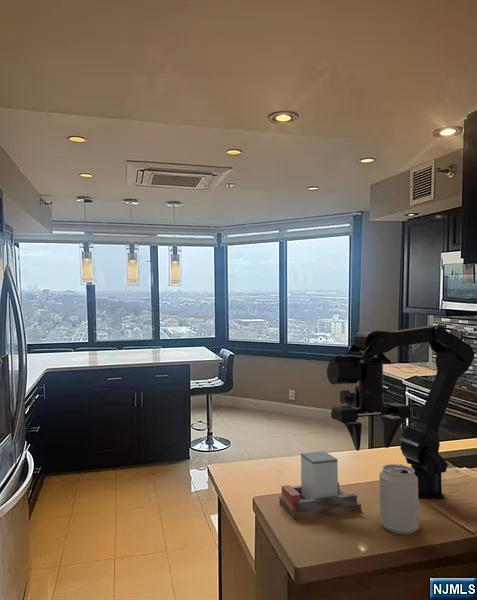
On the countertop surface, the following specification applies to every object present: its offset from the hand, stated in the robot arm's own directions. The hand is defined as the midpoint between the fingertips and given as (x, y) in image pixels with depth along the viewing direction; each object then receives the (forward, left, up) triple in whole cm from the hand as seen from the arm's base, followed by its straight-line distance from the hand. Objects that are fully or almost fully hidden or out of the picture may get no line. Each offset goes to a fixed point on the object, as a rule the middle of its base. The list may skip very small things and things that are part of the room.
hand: (372, 448), depth 105 cm
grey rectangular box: (+13, +5, -10) cm, 17 cm away
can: (-2, +14, -12) cm, 19 cm away
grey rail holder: (+13, +5, -12) cm, 18 cm away
